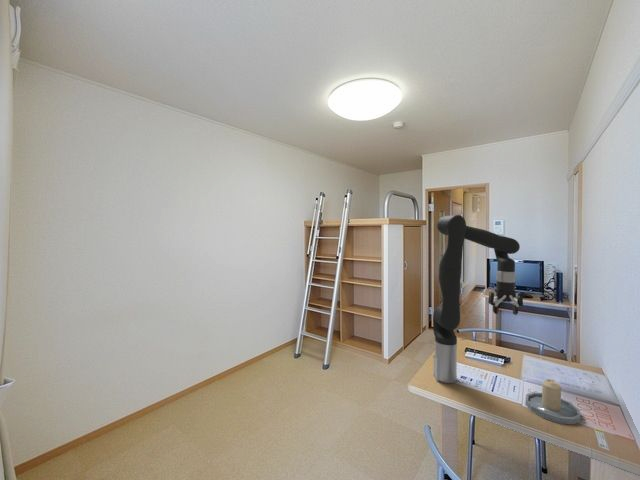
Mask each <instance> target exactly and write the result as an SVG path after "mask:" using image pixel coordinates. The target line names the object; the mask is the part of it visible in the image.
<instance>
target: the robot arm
mask: <svg viewBox="0 0 640 480" xmlns="http://www.w3.org/2000/svg"><path fill="white" fill-rule="evenodd" d="M436 227H437V230H438V231H439V232H440V233H441V234H442V235H444V236H447V246H446V249H445V252H443V255H442V257H441V258H440V261H439V264H438V283H439V287H440V291H441V296H442V304H441V305H439V306H437V307H435V309H434V311H433V315H432V326H433V335H434V354H433V376H434V378H435V379H436V381H437V382H441V383H445V384H454V383H456V382H457V380H458V379H457V377H458V376H457V373H458V372H457V369H458V368H457V366H458V365H457V364H458V363H457V362H458V361H457V360H458V357H457V356H458V355H457V354H458V337H457V335H456V333H455V331H454V330H456V329H457V328H458V327H459V325H460V323H461V306H460V305H461V304H460V295H461V279H462V262H463V261H462V260H463V252H464V251H463V250H464V249H463V248H464V242H465V240H468V241H470V242H473V243H474V244H478V245H481V246H483V247H486V248H489V249H493V250H494V251H493V252H494V254H495V259H496V261H497V264H496V265H497V271H496V277H495V278H496V285H495V286H496V291H495V292H494V291H493V292H492V291H489V293H488V301H487V302H488V304H489V305H491V306H492V313H494V314H495V315H498V313H499V312H498V311H499V310H498V309H499V308H498V307H499V305H500V304H501V303H502V302H504V303H505V302H507V303H511V304H512V305H513V306H512V314H513V315H515V316H517V315H518V314H519V307H523V306H524V298H523V297H524V296H523V293H522V292H520V291H518V292H516V261H515V260H514V259H513V258H511V257H509V254H510V255H513V254H516V253H518V252H519V250H520V247H521V246H520V243H519V241H517V240H516V239H515V238H511V237H508V236H504V235H500V234H496V233H495V232H492V231H490V230H489V231H488V230H486V229H483V228H477V227H473V226H469V225H467V223H466V219H465V218H464V216H462V215H461V214H460V215H459V214H451V215H448V214H447V215H444V216H442V217H440V218H438V221H437V223H436ZM495 297H496V298H495ZM515 298H517V299H515Z"/></svg>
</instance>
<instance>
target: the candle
mask: <svg viewBox="0 0 640 480" xmlns="http://www.w3.org/2000/svg"><path fill="white" fill-rule="evenodd" d="M541 386H542V388H541V389H542V390H541V393H542V405H543V406H544V407H545V408H547V409H549V410H552V411H560V409H561V398H562V386H561V385H560V384H559V383H558V382H556V381H555V380H554V379H551V378H550V379H546V380H542V385H541Z"/></svg>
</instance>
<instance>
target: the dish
mask: <svg viewBox="0 0 640 480" xmlns="http://www.w3.org/2000/svg"><path fill="white" fill-rule="evenodd" d="M524 404H525V406H526V407H527V408H528V409H529V410H530V411H531V413H534V414H536V415H537V416H539V417H541V418H543V419H545V420H548V421H551V422H554V423H558V424H562V425H563V424H565V425H576V424H578V423H580V422H581V421H582V419H581V418H582V417H581V411H580V409H579V407H577V406H576V405H574V404H573V403H572V402H570V401H568V400H566V399H564V398H562V397H561V409H560V411H552V410H549V409H547V408H545V407H544V406H543V405H542V392H536V391H535V392H534V391H533V392H529V393H526V394H525V403H524Z"/></svg>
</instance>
